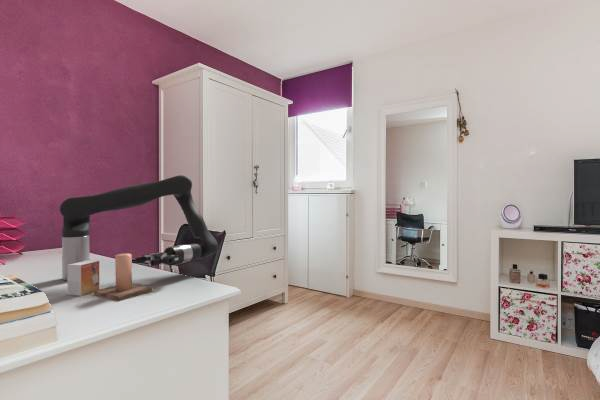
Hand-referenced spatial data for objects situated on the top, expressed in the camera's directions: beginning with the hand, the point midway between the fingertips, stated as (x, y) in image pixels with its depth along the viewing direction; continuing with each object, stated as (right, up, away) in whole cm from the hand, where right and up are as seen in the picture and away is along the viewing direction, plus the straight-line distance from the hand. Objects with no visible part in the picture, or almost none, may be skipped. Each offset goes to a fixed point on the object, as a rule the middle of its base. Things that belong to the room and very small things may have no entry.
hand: (143, 261), depth 119 cm
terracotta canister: (-4, -8, -7) cm, 11 cm away
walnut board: (-4, -9, -7) cm, 12 cm away
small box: (-18, -10, -6) cm, 21 cm away
